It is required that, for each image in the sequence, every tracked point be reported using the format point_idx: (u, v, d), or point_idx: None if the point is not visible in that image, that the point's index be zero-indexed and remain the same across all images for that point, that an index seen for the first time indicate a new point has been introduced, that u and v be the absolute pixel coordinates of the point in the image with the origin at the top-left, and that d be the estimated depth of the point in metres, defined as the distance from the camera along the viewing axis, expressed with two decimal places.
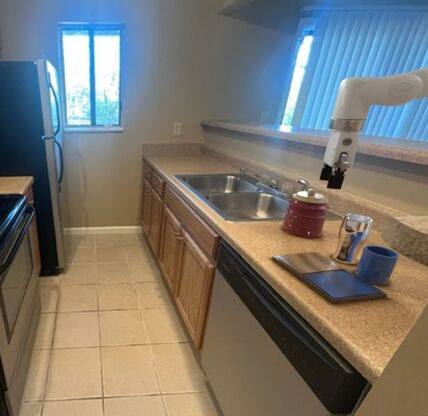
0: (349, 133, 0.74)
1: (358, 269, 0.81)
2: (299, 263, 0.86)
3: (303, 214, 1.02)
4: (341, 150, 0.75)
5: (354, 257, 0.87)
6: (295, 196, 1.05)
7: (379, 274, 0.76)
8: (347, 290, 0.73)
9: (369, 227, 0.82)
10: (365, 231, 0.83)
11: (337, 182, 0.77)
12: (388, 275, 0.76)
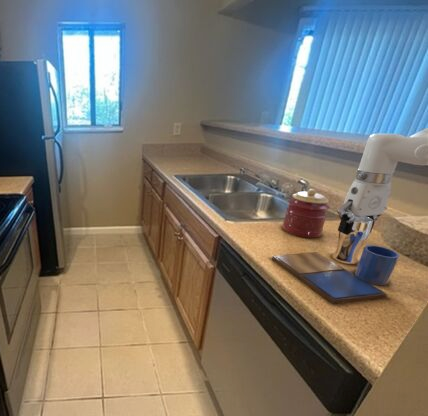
0: (358, 183, 0.80)
1: (358, 269, 0.81)
2: (299, 263, 0.86)
3: (303, 214, 1.02)
4: (348, 198, 0.82)
5: (354, 257, 0.87)
6: (295, 196, 1.05)
7: (379, 274, 0.76)
8: (347, 290, 0.73)
9: (369, 227, 0.82)
10: (365, 231, 0.83)
11: (343, 227, 0.85)
12: (388, 275, 0.76)
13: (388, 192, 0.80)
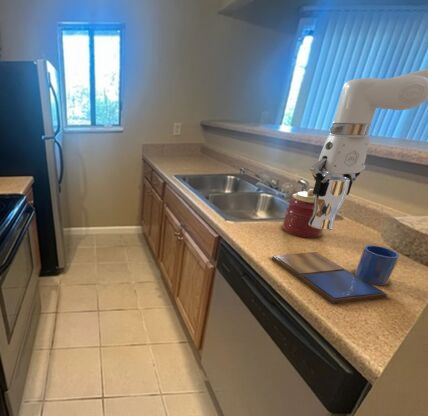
0: (332, 137, 0.72)
1: (358, 269, 0.81)
2: (299, 263, 0.86)
3: (303, 214, 1.02)
4: (322, 155, 0.74)
5: (330, 222, 0.79)
6: (295, 196, 1.05)
7: (379, 274, 0.76)
8: (347, 290, 0.73)
9: (346, 187, 0.74)
10: (341, 191, 0.75)
11: (317, 188, 0.77)
12: (388, 275, 0.76)
13: (366, 146, 0.71)
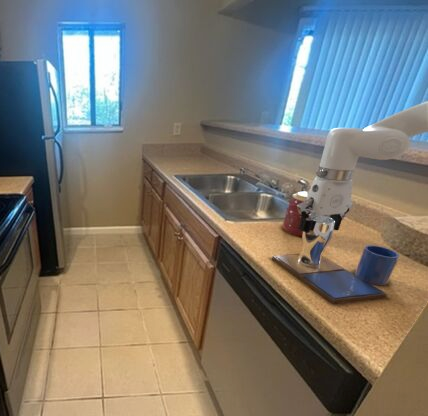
0: (318, 180, 0.76)
1: (358, 269, 0.81)
2: (299, 263, 0.86)
3: None
4: (310, 195, 0.78)
5: (317, 260, 0.83)
6: (295, 196, 1.05)
7: (379, 274, 0.76)
8: (347, 290, 0.73)
9: (331, 229, 0.79)
10: (327, 233, 0.79)
11: (303, 225, 0.80)
12: (388, 275, 0.76)
13: (350, 190, 0.76)
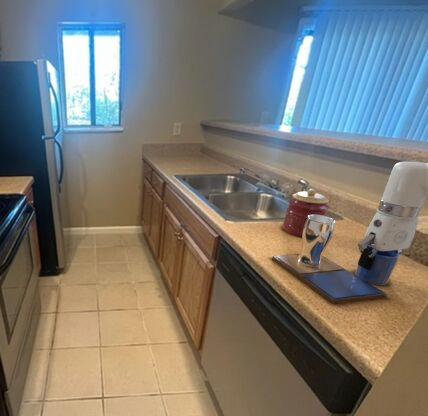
0: (381, 215, 0.73)
1: (358, 269, 0.81)
2: (299, 263, 0.86)
3: (303, 214, 1.02)
4: (370, 231, 0.75)
5: (317, 260, 0.83)
6: (295, 196, 1.05)
7: (379, 274, 0.76)
8: (347, 290, 0.73)
9: (331, 229, 0.79)
10: (327, 233, 0.79)
11: (364, 261, 0.77)
12: (388, 275, 0.76)
13: (415, 225, 0.72)
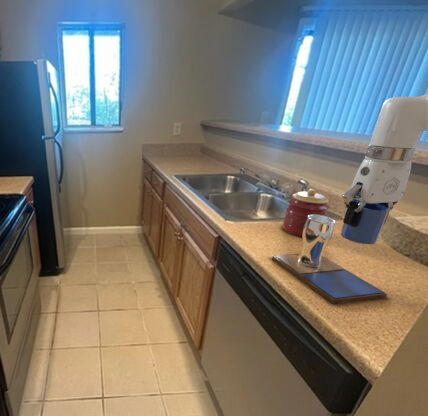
0: (369, 161, 0.63)
1: (344, 228, 0.72)
2: (299, 263, 0.86)
3: (303, 214, 1.02)
4: (357, 181, 0.66)
5: (317, 260, 0.83)
6: (295, 196, 1.05)
7: (366, 231, 0.67)
8: (347, 290, 0.73)
9: (331, 229, 0.79)
10: (327, 233, 0.79)
11: (349, 217, 0.68)
12: (377, 232, 0.67)
13: (408, 173, 0.63)
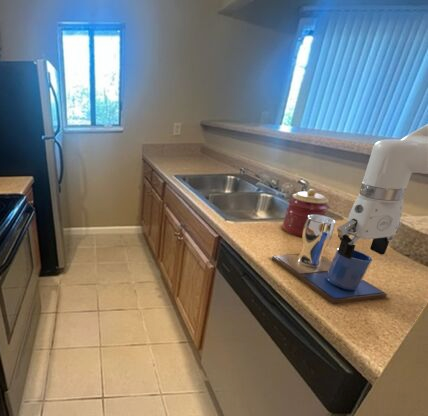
0: (363, 200, 0.66)
1: (329, 272, 0.76)
2: (299, 263, 0.86)
3: (303, 214, 1.02)
4: (352, 216, 0.68)
5: (317, 260, 0.83)
6: (295, 196, 1.05)
7: (350, 278, 0.72)
8: (347, 290, 0.73)
9: (331, 229, 0.79)
10: (327, 233, 0.79)
11: (344, 249, 0.71)
12: (359, 280, 0.72)
13: (400, 210, 0.66)
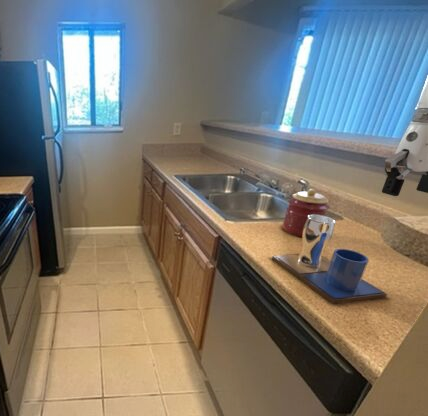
0: (417, 126, 0.59)
1: (328, 274, 0.76)
2: (299, 263, 0.86)
3: (303, 214, 1.02)
4: (403, 146, 0.61)
5: (317, 260, 0.83)
6: (295, 196, 1.05)
7: (348, 280, 0.72)
8: None
9: (331, 229, 0.79)
10: (327, 233, 0.79)
11: (390, 186, 0.63)
12: (357, 281, 0.72)
13: None
